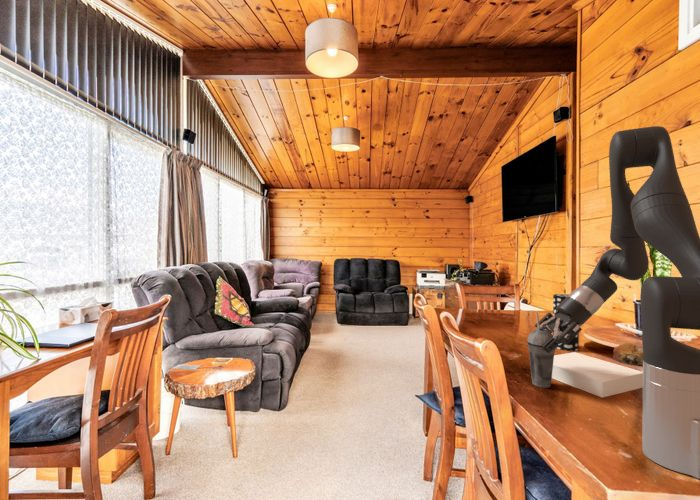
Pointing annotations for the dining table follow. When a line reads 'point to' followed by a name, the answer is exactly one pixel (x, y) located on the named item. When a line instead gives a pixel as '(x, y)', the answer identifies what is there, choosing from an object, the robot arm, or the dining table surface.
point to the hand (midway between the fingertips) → (537, 345)
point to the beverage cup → (540, 357)
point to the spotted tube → (574, 343)
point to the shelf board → (595, 374)
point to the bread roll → (629, 354)
